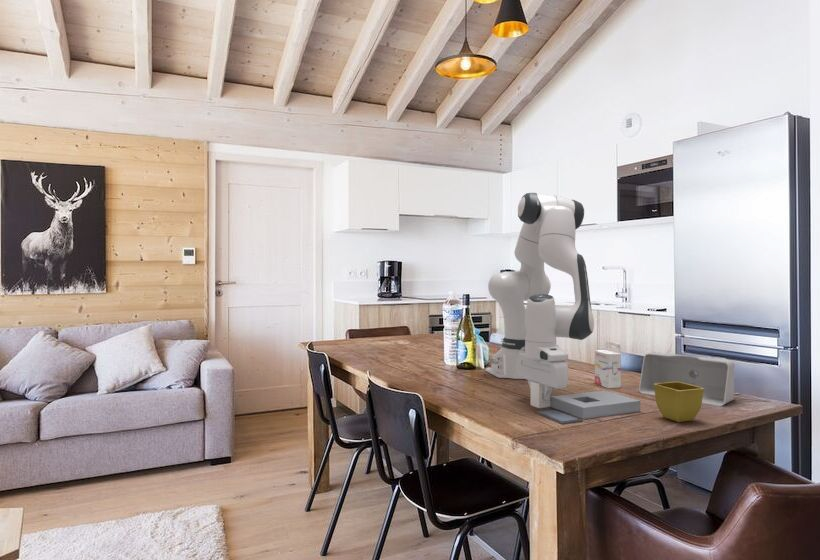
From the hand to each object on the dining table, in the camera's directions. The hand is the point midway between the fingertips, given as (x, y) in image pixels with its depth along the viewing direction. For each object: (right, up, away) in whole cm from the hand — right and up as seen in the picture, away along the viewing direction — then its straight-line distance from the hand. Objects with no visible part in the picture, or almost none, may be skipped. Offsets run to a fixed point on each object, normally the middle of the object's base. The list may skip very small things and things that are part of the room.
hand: (540, 397), depth 157 cm
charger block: (0, -2, 0) cm, 2 cm away
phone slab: (+2, -3, -12) cm, 13 cm away
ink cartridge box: (+30, -2, +28) cm, 41 cm away
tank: (+50, -2, +13) cm, 52 cm away
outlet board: (+14, -2, -4) cm, 15 cm away
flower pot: (+33, -3, -14) cm, 36 cm away
